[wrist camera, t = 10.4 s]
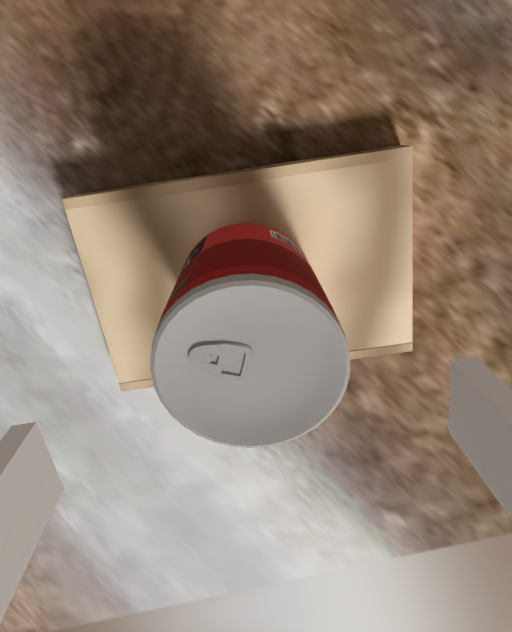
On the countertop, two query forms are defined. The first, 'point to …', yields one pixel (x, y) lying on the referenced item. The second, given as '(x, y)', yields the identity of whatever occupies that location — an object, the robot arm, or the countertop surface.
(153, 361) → the canned food
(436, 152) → the countertop surface
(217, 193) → the cutting board
